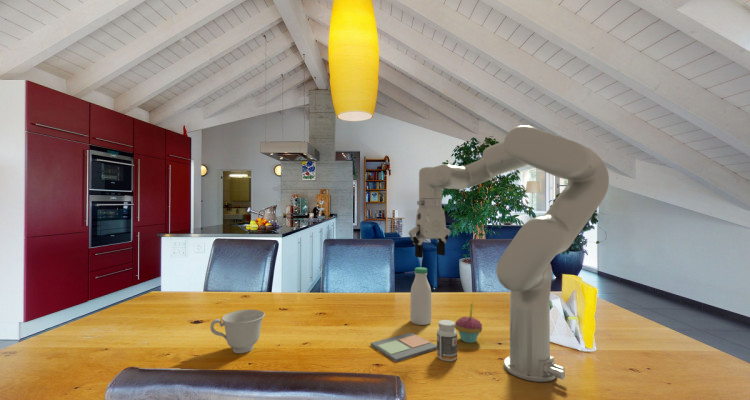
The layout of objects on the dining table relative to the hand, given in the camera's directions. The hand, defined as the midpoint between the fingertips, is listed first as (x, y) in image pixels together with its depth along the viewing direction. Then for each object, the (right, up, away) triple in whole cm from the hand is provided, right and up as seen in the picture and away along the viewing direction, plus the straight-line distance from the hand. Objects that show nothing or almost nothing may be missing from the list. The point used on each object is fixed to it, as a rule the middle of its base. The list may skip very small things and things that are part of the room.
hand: (430, 255), depth 109 cm
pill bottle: (+2, -27, -16) cm, 31 cm away
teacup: (-59, -26, -12) cm, 66 cm away
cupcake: (+12, -27, -3) cm, 30 cm away
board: (-9, -26, -9) cm, 29 cm away
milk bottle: (-1, -27, +13) cm, 30 cm away
